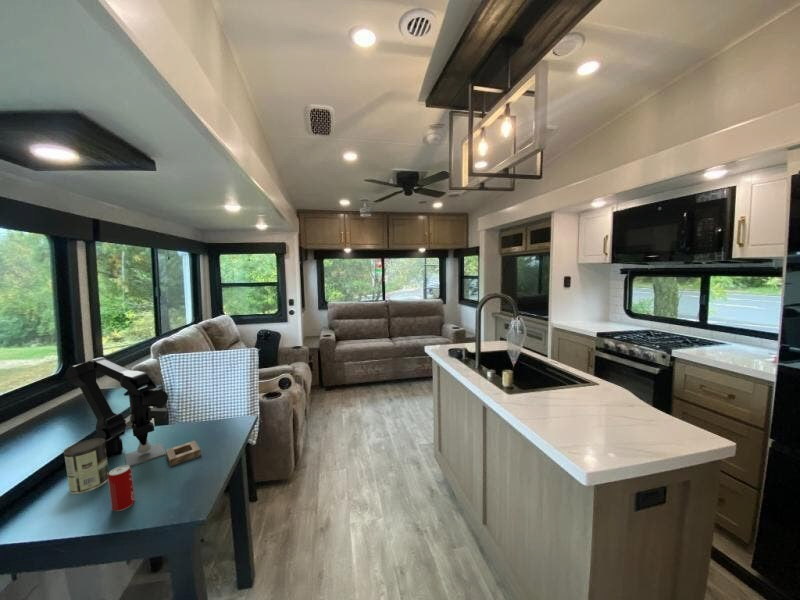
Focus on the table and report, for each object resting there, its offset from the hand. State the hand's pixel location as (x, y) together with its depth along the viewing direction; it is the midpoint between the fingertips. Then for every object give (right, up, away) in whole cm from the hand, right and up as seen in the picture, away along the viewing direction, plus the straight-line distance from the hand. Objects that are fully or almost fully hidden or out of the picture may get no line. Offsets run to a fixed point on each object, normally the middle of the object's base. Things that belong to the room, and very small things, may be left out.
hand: (143, 443), depth 130 cm
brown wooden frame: (+17, -4, -1) cm, 17 cm away
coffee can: (-5, -7, -17) cm, 19 cm away
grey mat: (0, -5, 0) cm, 5 cm away
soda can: (+16, -7, -28) cm, 33 cm away
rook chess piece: (0, -3, 0) cm, 3 cm away
